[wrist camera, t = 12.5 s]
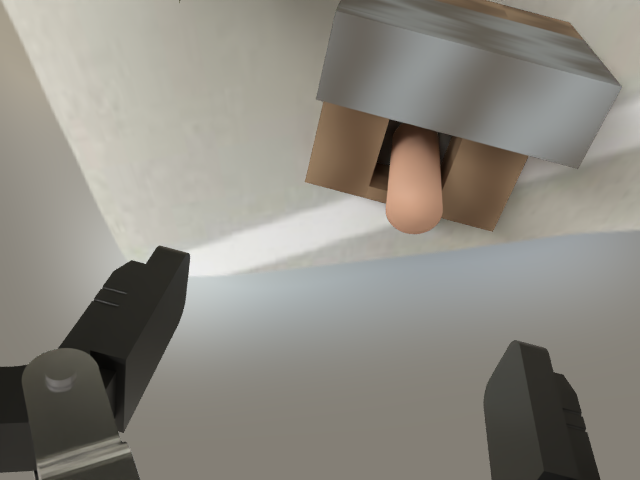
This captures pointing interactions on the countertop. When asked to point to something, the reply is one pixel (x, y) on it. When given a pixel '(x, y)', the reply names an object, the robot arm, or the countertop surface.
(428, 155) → the peg
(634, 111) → the countertop surface
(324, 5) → the countertop surface
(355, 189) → the socket station
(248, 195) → the countertop surface
